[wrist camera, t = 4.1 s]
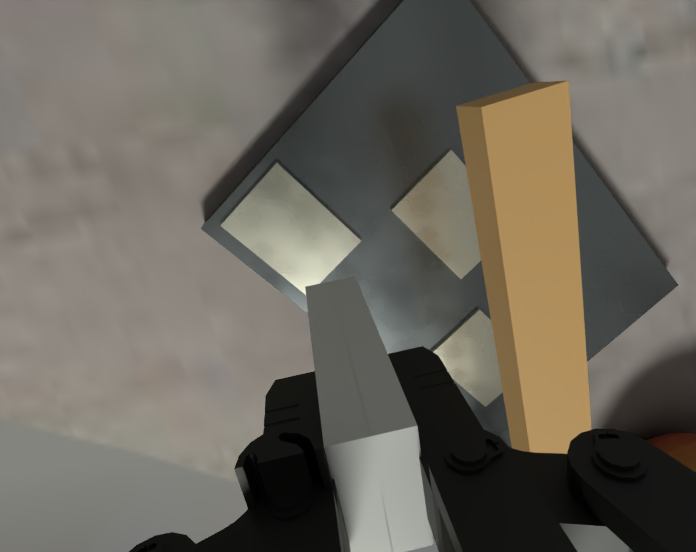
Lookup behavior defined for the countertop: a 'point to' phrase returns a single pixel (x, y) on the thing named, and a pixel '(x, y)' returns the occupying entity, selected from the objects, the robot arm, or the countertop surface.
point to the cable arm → (531, 258)
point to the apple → (678, 447)
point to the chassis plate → (418, 202)
